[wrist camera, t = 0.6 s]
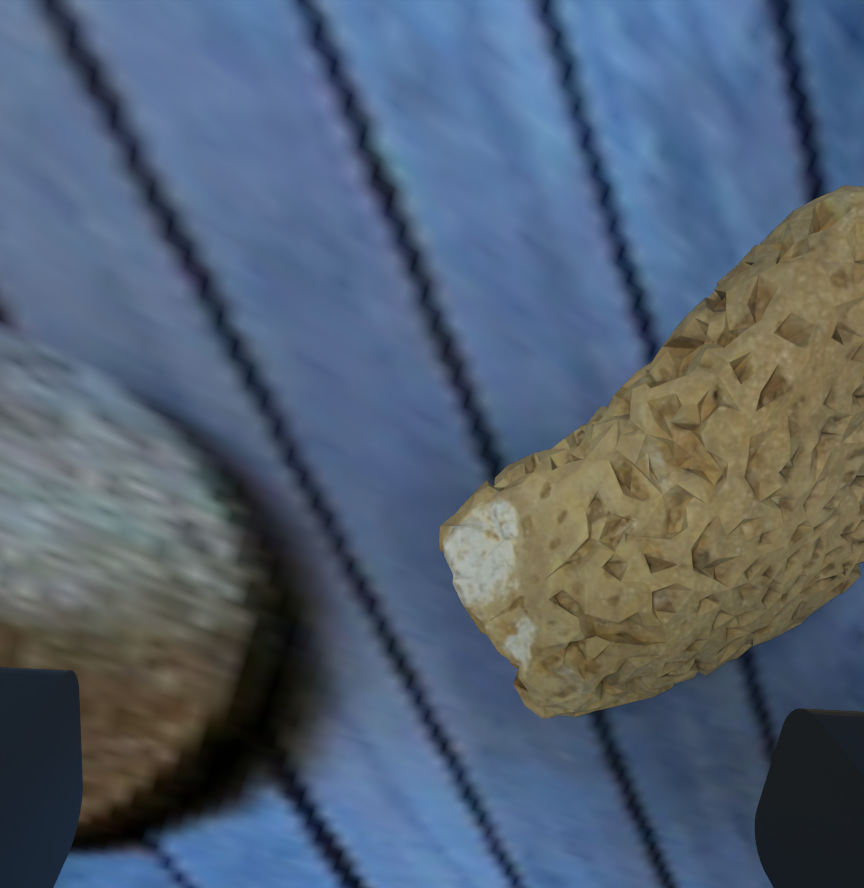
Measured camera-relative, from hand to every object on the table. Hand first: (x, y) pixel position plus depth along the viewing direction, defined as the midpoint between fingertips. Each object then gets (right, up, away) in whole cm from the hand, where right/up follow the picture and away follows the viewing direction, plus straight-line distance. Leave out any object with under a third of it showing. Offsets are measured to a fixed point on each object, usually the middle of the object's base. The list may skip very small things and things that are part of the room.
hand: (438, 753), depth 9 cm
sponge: (+10, +4, +20) cm, 23 cm away
